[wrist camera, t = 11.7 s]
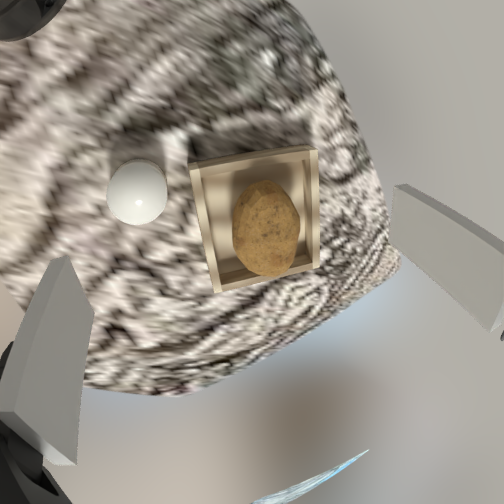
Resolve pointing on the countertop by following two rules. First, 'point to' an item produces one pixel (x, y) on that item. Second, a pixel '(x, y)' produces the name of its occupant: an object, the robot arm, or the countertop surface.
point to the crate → (225, 198)
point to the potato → (265, 229)
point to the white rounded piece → (137, 192)
